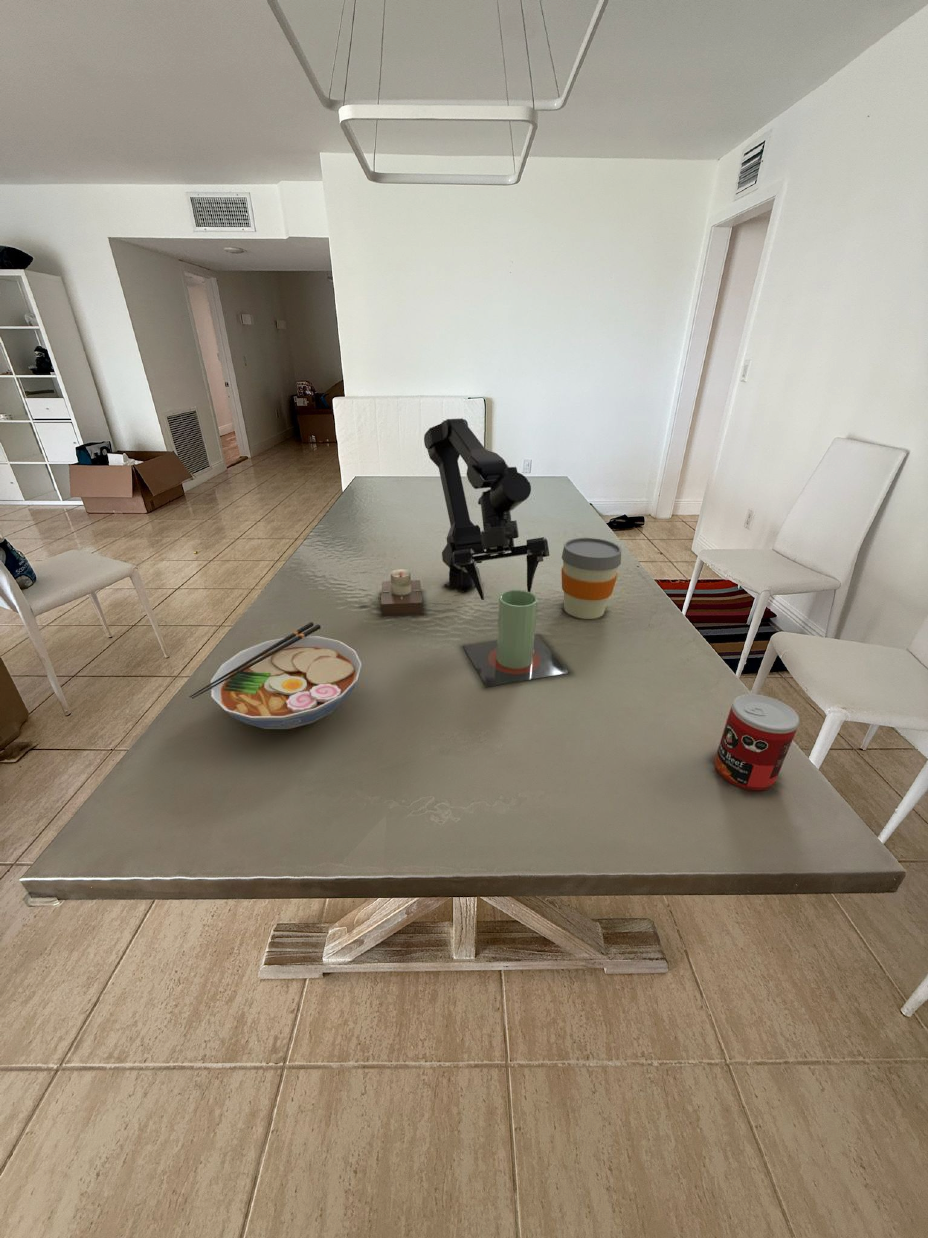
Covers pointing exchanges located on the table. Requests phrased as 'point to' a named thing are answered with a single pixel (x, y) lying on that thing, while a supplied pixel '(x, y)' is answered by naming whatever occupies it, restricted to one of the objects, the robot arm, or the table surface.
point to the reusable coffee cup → (589, 575)
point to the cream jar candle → (400, 582)
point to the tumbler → (516, 628)
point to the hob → (499, 675)
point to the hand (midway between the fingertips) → (505, 596)
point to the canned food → (755, 741)
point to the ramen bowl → (286, 680)
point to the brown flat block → (401, 600)
